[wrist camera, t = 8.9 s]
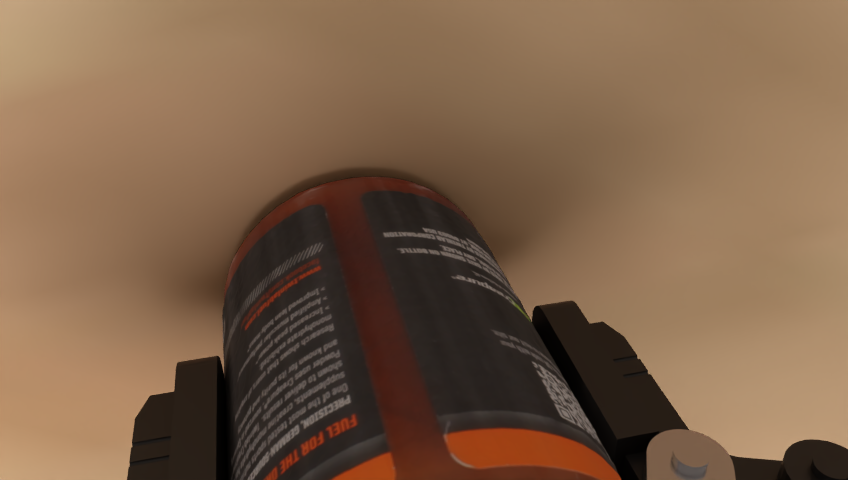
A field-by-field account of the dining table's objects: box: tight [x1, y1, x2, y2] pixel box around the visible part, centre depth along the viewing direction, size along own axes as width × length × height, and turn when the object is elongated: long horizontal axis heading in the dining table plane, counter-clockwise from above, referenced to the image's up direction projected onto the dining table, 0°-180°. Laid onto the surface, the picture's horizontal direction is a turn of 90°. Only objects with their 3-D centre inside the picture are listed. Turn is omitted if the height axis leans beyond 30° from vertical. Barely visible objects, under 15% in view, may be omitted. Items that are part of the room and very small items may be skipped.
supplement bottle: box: [222, 177, 622, 480], centre depth 12 cm, size 6×6×11 cm
